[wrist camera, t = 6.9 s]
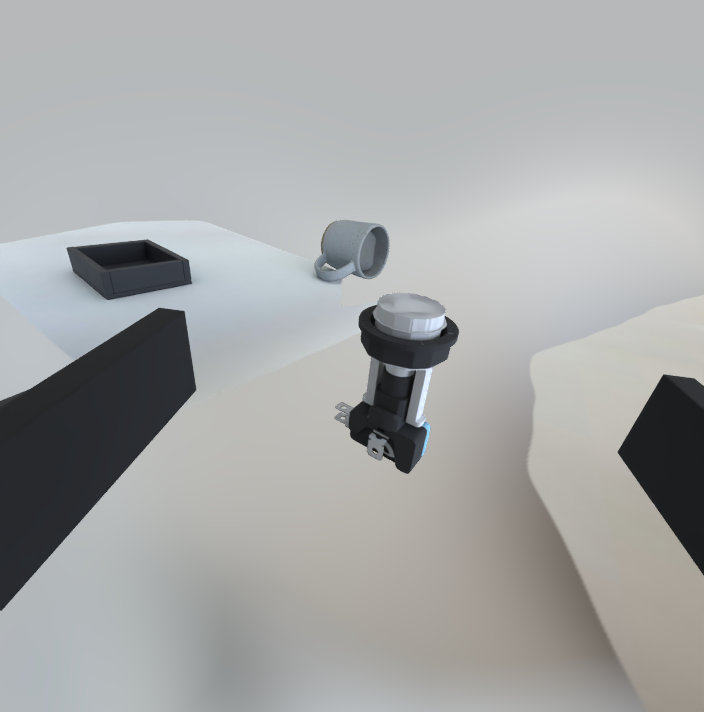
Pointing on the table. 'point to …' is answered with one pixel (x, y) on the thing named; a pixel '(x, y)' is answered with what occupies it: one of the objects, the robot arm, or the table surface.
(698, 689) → the table surface
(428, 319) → the push button
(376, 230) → the ceramic mug
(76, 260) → the tray
